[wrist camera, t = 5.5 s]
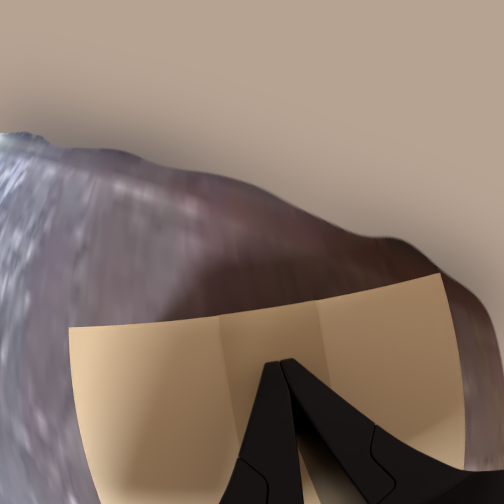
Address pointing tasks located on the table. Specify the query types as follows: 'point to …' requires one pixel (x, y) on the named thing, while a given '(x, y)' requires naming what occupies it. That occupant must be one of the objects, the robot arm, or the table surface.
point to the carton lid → (247, 380)
